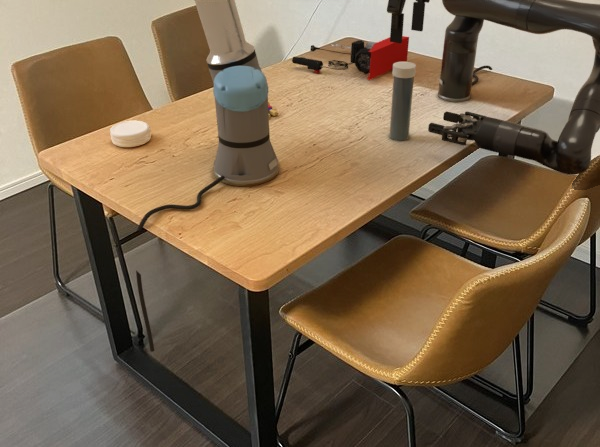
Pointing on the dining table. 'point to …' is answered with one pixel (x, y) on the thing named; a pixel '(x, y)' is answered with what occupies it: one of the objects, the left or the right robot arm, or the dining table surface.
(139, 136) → the white round container
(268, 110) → the toy figure
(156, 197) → the dining table surface
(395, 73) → the lid
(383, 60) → the electric hoist
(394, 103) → the grey cylinder
